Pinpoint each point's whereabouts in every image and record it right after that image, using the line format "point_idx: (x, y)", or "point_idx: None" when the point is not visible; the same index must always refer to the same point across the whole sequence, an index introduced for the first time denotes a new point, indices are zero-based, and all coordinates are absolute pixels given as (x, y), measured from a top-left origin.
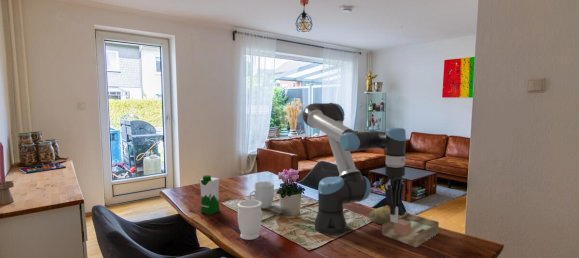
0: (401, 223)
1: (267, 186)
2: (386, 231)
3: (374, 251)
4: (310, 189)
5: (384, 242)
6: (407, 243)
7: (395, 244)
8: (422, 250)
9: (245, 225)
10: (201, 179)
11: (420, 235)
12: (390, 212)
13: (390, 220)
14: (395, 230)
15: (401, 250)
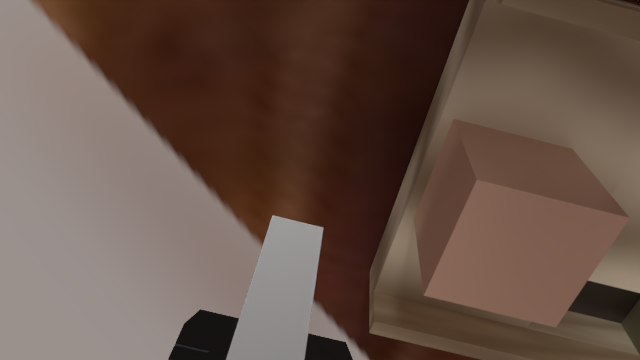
0: (459, 259)
1: None
2: (470, 32)
3: (85, 36)
4: None
5: (307, 52)
6: (390, 218)
7: (328, 142)
8: (349, 305)
9: None
10: None
11: (435, 342)
12: (178, 338)
13: (271, 225)
14: (450, 149)
15: (256, 202)
